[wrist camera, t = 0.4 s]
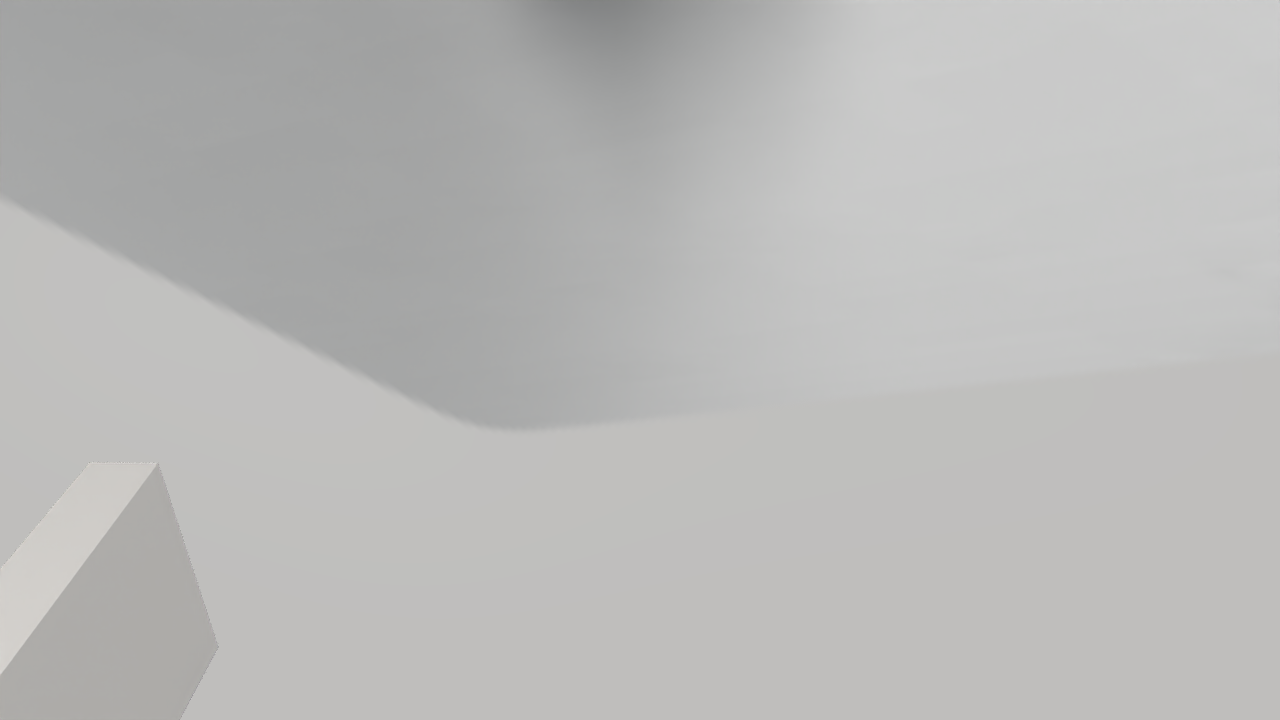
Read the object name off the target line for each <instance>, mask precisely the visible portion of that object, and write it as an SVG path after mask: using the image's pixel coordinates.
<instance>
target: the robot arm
mask: <svg viewBox="0 0 1280 720" xmlns="http://www.w3.org/2000/svg"><path fill="white" fill-rule="evenodd" d="M217 649H218V644H217V641H216V638H215V635H214V632H213V629H212V626H211V623H210V620H209V617H208V613H207V610H206V607H205V604H204V601H203V599H202V595H201V592H200V590H199V586H198V583H197V580H196V577H195V574H194V571H193V568H192V565H191V561H190V558H189V556H188V552H187V550H186V547H185V543H184V540H183V537H182V534H181V531H180V528H179V525H178V522H177V519H176V516H175V513H174V510H173V507H172V503H171V500H170V497H169V494H168V491H167V488H166V485H165V482H164V479H163V476H162V473H161V470H160V467H159V464H158V463H107V462H106V463H105V462H102V463H101V462H90V463H89V464H88V465H87V466H86V467H85V469H84V470H83V471H82V472H81V473H80V474H79V476H78V477H77V478H76V479H75V480H74V482H73V483H72V484H71V485H70V486H69V488H68V489H67V490H66V491H65V492H64V493H63V495H62V496H61V497H60V498H59V499H58V501H57V502H56V503H55V504H54V505H53V507H52V508H51V509H50V510H49V511H48V513H47V514H46V515H45V516H44V517H43V519H42V520H41V521H40V522H39V523H38V524H37V526H36V527H35V528H34V529H33V530H32V532H31V533H30V534H29V535H28V536H27V538H26V539H25V540H24V541H23V542H22V544H21V545H20V546H19V547H18V548H17V550H16V551H15V552H14V553H13V555H11V557H10V558H9V559H8V560H7V562H6V563H5V564H4V565H3V566H2V567H1V569H0V720H180V718H181V717H182V715H183V713H184V711H185V709H186V707H187V705H188V703H189V701H190V700H191V698H192V696H193V694H194V692H195V690H196V688H197V686H198V684H199V683H200V681H201V679H202V677H203V675H204V673H205V671H206V669H207V668H208V666H209V664H210V662H211V660H212V658H213V656H214V654H215V653H216V651H217Z"/></svg>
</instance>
